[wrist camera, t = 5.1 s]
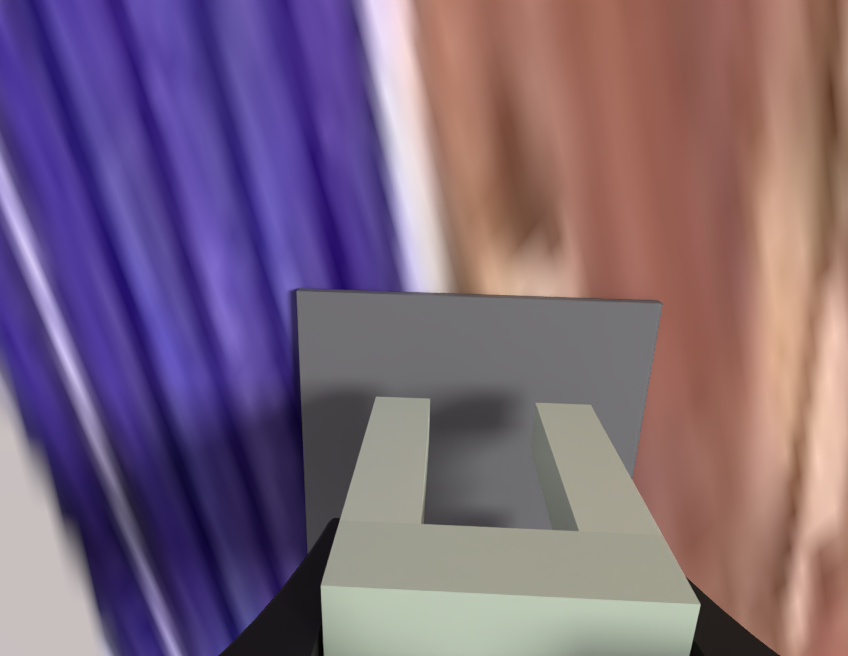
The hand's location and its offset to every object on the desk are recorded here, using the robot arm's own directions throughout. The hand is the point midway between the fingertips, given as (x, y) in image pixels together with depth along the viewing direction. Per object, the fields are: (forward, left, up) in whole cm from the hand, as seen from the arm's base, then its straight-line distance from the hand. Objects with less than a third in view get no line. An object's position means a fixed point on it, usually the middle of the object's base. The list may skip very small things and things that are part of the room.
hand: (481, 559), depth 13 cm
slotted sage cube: (0, 0, -3) cm, 3 cm away
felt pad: (0, 0, -5) cm, 5 cm away
